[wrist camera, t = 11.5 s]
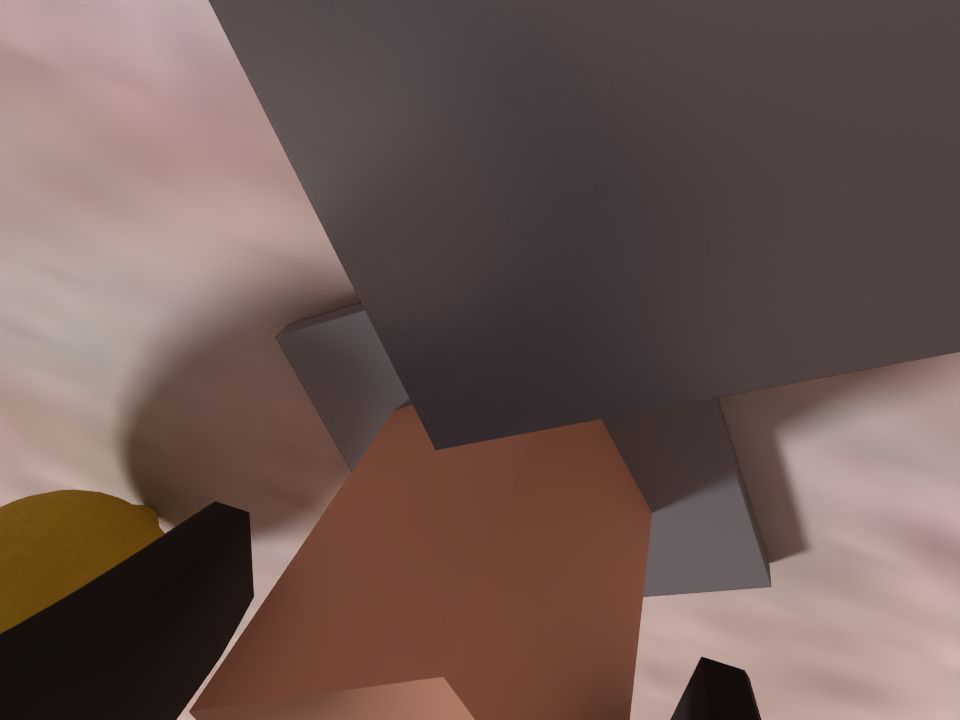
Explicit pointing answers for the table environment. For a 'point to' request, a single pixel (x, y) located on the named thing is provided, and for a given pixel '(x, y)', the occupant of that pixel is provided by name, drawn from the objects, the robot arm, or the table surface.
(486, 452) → the terracotta block
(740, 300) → the parts unit
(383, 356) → the mat
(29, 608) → the lemon
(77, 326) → the table surface
